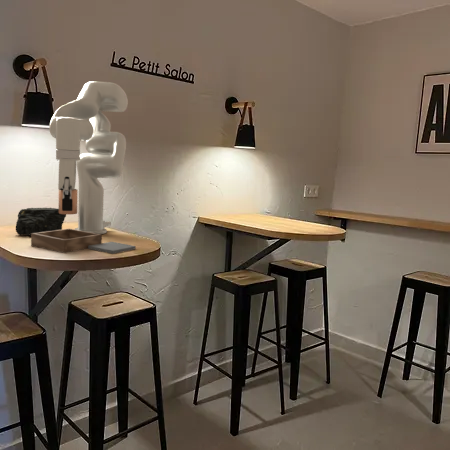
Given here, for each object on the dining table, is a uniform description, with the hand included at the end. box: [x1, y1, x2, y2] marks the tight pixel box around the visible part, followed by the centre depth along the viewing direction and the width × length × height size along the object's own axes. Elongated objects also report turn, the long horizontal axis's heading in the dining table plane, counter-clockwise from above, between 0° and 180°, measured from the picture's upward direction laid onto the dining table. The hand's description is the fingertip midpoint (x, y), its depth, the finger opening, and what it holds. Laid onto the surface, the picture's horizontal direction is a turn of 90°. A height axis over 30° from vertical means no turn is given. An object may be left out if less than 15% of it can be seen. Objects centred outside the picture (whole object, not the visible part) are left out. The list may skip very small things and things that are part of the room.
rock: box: [15, 207, 67, 236], centre depth 172 cm, size 18×10×15 cm
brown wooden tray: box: [30, 228, 103, 253], centre depth 153 cm, size 16×16×4 cm
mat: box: [87, 241, 137, 255], centre depth 152 cm, size 11×11×1 cm
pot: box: [58, 188, 79, 215], centre depth 151 cm, size 6×6×8 cm
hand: (68, 208), depth 152 cm, fingers closed on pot, 6 cm apart
